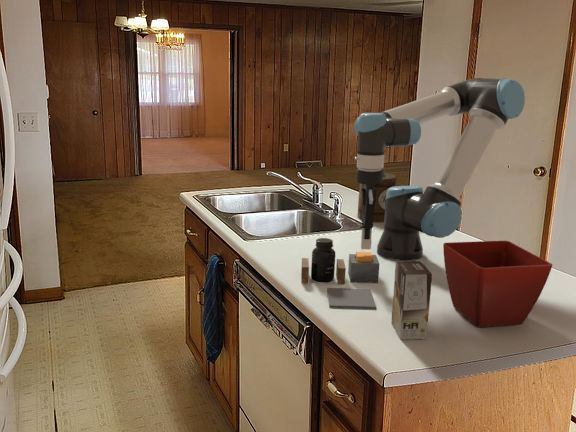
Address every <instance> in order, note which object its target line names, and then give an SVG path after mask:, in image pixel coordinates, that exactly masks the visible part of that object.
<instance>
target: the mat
mask: <svg viewBox="0 0 576 432" xmlns="http://www.w3.org/2000/svg"><path fill="white" fill-rule="evenodd" d="M326 291H327V298H328V305H329V306H328V307H329V308H333V309H335V308H338V309H360V310H361V309H365V310H366V309H369V310H371V309H372V310H377V305H376V302H375V299H374V296H373V292H372V290H371V289H370V288H351V287H350V288H347V287H327V290H326Z"/></svg>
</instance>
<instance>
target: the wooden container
mask: <svg viewBox="0 0 576 432" xmlns="http://www.w3.org/2000/svg"><path fill="white" fill-rule="evenodd" d="M383 169H384V167H383V168H382V169H381V170H382V171H383ZM396 183H397V176H396V175H395V174H393V173H388V172H383V182H382V183H381V184H376V185H374V188H375V190H376V197H375V198H376V202H375V209H374V220H373V223H384V218H385V198H386V194H387V190H388V189H389V188H390V187H395V186H396ZM363 186H364V184H360V183H359V190H358V203H357V204H358V205H357V218H358V219H360V220H361V216H362V201H361V199H362V194H361V188H363Z"/></svg>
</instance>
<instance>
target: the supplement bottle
mask: <svg viewBox="0 0 576 432" xmlns="http://www.w3.org/2000/svg"><path fill="white" fill-rule="evenodd" d="M333 244H334V240H333V239H332V238H331V239H330V238H326V237H321V238H320V237H318V238H316V240H315V247H314V248H313V249H312V251H311V267H310V268H311V269H310V270H311V271H310V278H311V280H312V281H313V282H316V283H320V284H327V283H331V282H333V281H334V280H335V272H336V269H335V268H336V251H335V250H334V248H333V246H334V245H333Z"/></svg>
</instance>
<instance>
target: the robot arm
mask: <svg viewBox="0 0 576 432" xmlns="http://www.w3.org/2000/svg"><path fill="white" fill-rule="evenodd" d="M525 103H526V97H525V90H524V88H523V86H522V84H521V83H520V82H519V81H517V80H515V79H508V78H505V77H504V78H503V77H502V78H489V77H488V78H487V77H476V78H470V79H466V80H463V81H460V82H458V83H454V84H451V85H449V86H445V87H443V88H442V89H440V91H439V92H437V93H434V94H431V95H429V96H425V97H422V98H419V99H417V100H414V101H411V102H408V103H405V104H402V105H399V106H396V107H392V108H390V109H387V110H384V111H382V112H381V111H380V112H363V113H360V115H359V116H358V117H357V118H356V119H355V121H354V124H353V129H354V132H355V134H356V137H357V150H356V155H357V156H355V157H354V160H355V161H356V168H357V169H356V170H355V182H356V183H357V184H359V185H360V184H364V186H363V188H361V194H362V199H361V201H362V216H361V219H360V221H361V225H360V226H359V227H360V229H361V237H360V240H361V241H360V249H361V250H371V249H372V230H373V228H374V222H373V220H374V209H375V202H376V198H375V197H376V190H375V188H374V185H376V184H381V183H382V182H383V173H384V171H383V170H381V169H382V168H383V169H384V167H385V166H384V165H385V149H386V148H387V147H388V148H389V147H404V146H405V147H408V146H411V145H415V144H417V143H418V142H419V141H420V139H421V136H422V127H421V125H423V124H425V123H428V122H431V121H433V120H436V119H439V118H442V117H445V116H449V117H453V116H454V117H455V116H457V115H462V114H463V115H464V114H465V115H467V114H468V115H469V116H470V119H469V121H468V122H467V124H466V127H465V128H464V130H463V131H462V133H461V135H460V137H459V139H458V141H457V142H456V144H455V146H454V147H453V150H452V151H451V153H450V155H449V157H448V159H447V161H446V162H445V164H444V166H443V168H442V169H441V171H440V173H439V175H438V176H437V178H436V180H435V182H434V183H432V184H428V185H426V188H425V190H424V189H423V187H422V186H416V185H399V186H396V185H395V187H390V188H389V189H388V190H387V194H386V198H385V218H384V222H383V232H382V233H381V236H380V238H379V241H378V243H377V246H376V253H377V254H378V255H379V256H380V257H382V258H386V259H388V260H392V261H393V260H394V261H417V260H419V259H421V258H422V257H423V253H424V249H423V244H422V240H421V235H420V233H421V234H422V233H423V234H425V235H426V236H428V237H434V238H439V239H442V238H443V239H444V238H445V237H446V238H447V237H449V236H450V235H452V234H454V232H455V231H456V230H457V229H458V227H459V226H460V224H461V223H462V214H463V213H462V212H463V211H462V209H461V205H462V199H461V195H462V193H463V192H464V189H465V188H466V186H467V184H468V182H469V181H470V178H471V177H472V175H473V173H474V171H475V170H476V168H477V166H478V164H479V162H480V161H481V159H482V157H483V156H484V153H485V152H486V150H487V148H488V146H489V144H490V143H491V141H492V139H493V138H494V135H495V134H496V132H497V131H499V130H501V129H503V128H504V127H505V125H506V124H507V122H508V121H509V119H510V120H512V119H516V118H518V117H519V116H520V115H521V114H522V112H523V110H524V108H525Z"/></svg>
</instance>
